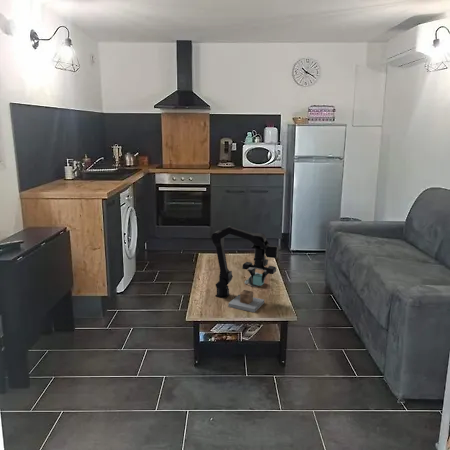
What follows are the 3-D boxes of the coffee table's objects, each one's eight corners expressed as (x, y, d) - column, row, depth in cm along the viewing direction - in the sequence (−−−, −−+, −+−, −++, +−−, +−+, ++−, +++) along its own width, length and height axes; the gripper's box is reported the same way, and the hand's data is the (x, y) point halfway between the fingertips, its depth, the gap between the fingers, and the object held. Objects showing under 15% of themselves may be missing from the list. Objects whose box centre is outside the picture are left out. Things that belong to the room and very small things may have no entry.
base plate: (228, 306, 248) (228, 303, 247) (239, 297, 260) (239, 294, 259) (254, 312, 241) (254, 309, 240) (264, 302, 253) (264, 299, 252)
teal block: (252, 284, 252) (253, 276, 251) (256, 281, 256) (256, 273, 255) (261, 285, 250) (261, 277, 248) (264, 282, 254) (264, 274, 253)
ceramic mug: (262, 282, 282) (262, 271, 280) (259, 287, 275) (259, 275, 273) (246, 281, 285) (246, 270, 283) (243, 285, 277) (243, 274, 276)
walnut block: (240, 302, 249) (240, 293, 247) (244, 298, 253) (244, 289, 252) (248, 304, 246) (249, 295, 245) (252, 300, 251) (253, 291, 250)
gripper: (280, 254, 252) (278, 280, 256) (249, 249, 260) (249, 274, 264) (273, 260, 242) (272, 286, 246) (242, 255, 250) (241, 280, 254)
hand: (258, 281), depth 253 cm, fingers closed on teal block, 5 cm apart
